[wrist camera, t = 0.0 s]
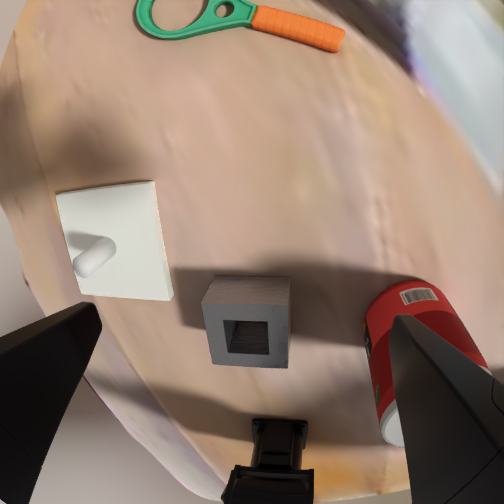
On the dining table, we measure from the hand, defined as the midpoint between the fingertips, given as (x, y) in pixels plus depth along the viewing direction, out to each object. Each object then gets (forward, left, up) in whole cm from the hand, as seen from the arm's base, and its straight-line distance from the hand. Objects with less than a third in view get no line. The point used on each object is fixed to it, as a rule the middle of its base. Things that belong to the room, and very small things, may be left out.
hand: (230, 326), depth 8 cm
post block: (-3, +14, -15) cm, 21 cm away
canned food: (-10, -11, -15) cm, 21 cm away
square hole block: (-9, +2, -15) cm, 18 cm away
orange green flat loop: (+14, +2, -15) cm, 21 cm away
